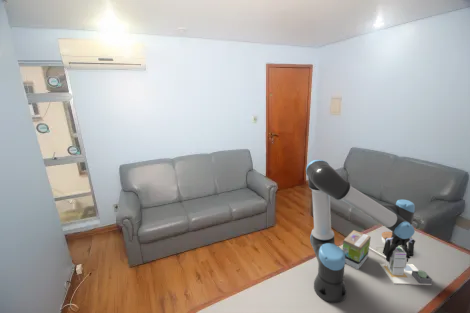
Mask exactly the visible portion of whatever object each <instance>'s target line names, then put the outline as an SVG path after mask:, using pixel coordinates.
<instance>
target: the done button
mask: <svg viewBox="0 0 470 313" xmlns="http://www.w3.org/2000/svg"><path fill="white" fill-rule="evenodd" d="M417 275H418V276H419V277H420V278H427V275H428V273H427V272H426V271H425V270H421V269H418V274H417Z"/></svg>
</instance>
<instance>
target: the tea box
mask: <svg viewBox="0 0 470 313" xmlns="http://www.w3.org/2000/svg"><path fill="white" fill-rule="evenodd" d="M370 244H371V236H370V235H367V234H365V233H363V232H359V231H357V230H354V229H353V230H352V231H351V232H350V233H349V234H347V236H346V237H345V238H344V239H343V242H342V248H341V249H342V250H343V252H344V254H345V264H346V265H349V266H350V267H352V268H354V269H357V270H359V269H360V268H361V266H362V265H364V263H365V262H366V260H367V259H368V258H369V257H368V256H369V251H370Z"/></svg>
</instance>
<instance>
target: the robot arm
mask: <svg viewBox="0 0 470 313" xmlns="http://www.w3.org/2000/svg"><path fill="white" fill-rule="evenodd" d="M305 173H306V176H307V178H308V179H307V182H308V183H307V184H308V188H309V189H310V190H311V195H312V197H311V199H312V213H313V228H312V230H311V233H310V237H309V239H310V241H309V242H310V244H311V247H312V249H313V252H314V255H315V257H316V259H317V260H316V261H317V263H318V265H317V266H318V268H317V269H318V270H317V274H316V277H315V279H314V281H313V289H314V292H315V293H316V295H318V297H319V298H320V299H321V300H323V301H325V302H327V303H333V304H337V303H342V302H343V301H345V299H346V298H347V297H346V296H347V288H346V284H345V281H344V277H345V276H344V275H345V264H346V263H345V254H344V252H343V250H342V249H343V248H341V246H338V245H336V242H335V232H334V231H333V229H332V221H331V220H332V218H331V217H332V216H331V214H332V213H331V198H333V199H335V200H336V201H343V202H344V203H346V204H347V205H349V206H351V207H352V208H354V209H355V210H357V211H359V212H360V213H362V214H363V215H365V216H367V217H369V218H370V219H372V220H373V221H375V222H377V223H379V224H380V225H381V226H383V227H385V228H387V229H388V230H389V231H390V232H392V237H391V238H387V237H386V238H385V240H386V242H385V245H383V250H382V254H384V256H385V261H386V264H387V265H388V267H389V268H391V264H392V257H391V256H392V254H393V251H394V250H395V249H396V247H398V246H399V245H401V247H402V248H403V250H404V251H405V252H406V260H405V267H404V268H406V264H408V262H409V259H411V257H414V253H415V252H414V251H415V250H414V249H415V243H416V240H415V239H414V238H412V236H414V234H415V231H416V230H415V227H414V226H413V221H414V215H415V211H416V210H415V209H416V205H415V203H414V202H413V201H411V200H408V199H397V201H396V202H395V204H380V203H379V202H377V201H375V200H374V199H372V198H371V197H369V196H368V195H366V194H364V193H363V192H361V191H359V190H358V189H357V188H356V187H355V188H354V187H353V186H352V184H351V183H350V182H349V181H348V180H346V179H345V178H344V177H342V176H341V175H340V174H339V173H338V172H337V171H336V170H335V169H334V167H332V166H331V165H330V163H328V162H327V161H325V160H323V159H314V160H311V161H310V162H309V163H308V164H307V165H306V168H305ZM391 241H392V242H391ZM391 243H392V244H391ZM390 245H391V246H390Z"/></svg>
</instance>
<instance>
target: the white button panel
mask: <svg viewBox="0 0 470 313" xmlns="http://www.w3.org/2000/svg"><path fill="white" fill-rule="evenodd" d="M379 266H380V268H381V269H382V270H383V271H384V272H385V275H387V276H388V278H389V279H390V281H391V282H392V283H393V284H394V285H416V286H418V285H420V286H421V285H422V286H432V285H433V284H432V283H433V278H431V276H430V275H428V274H427V278H420V277H419V276H418V275H417V274H418V270H419V269H418V267H416V266H415V265H414V264H413V263H406V268H404V273H403V275H392V274H391V272H390V271H389V269H388V268H387V263H379Z"/></svg>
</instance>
